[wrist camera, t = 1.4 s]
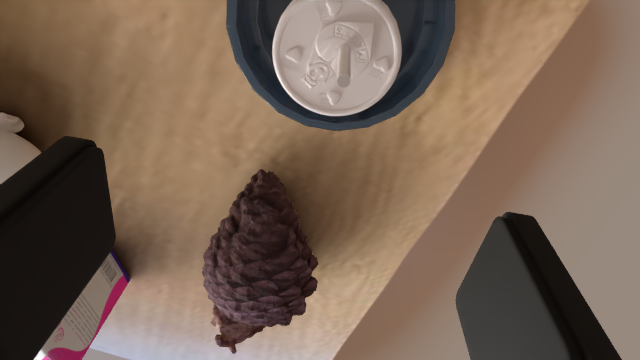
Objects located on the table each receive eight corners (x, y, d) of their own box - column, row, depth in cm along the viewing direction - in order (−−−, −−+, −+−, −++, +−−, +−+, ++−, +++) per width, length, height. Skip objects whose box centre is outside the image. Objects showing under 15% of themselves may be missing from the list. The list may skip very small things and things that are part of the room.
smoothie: (406, 18, 28) (448, 96, 16) (336, 79, 30) (327, 184, 19) (344, -63, 25) (340, -40, 14) (273, 11, 28) (219, 83, 16)
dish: (247, -128, 24) (230, -134, 21) (472, -85, 25) (492, -84, 21) (237, 89, 32) (223, 112, 28) (409, 119, 32) (416, 145, 29)
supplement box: (56, 245, 42) (-29, 343, 33) (109, 240, 41) (37, 339, 32) (83, 284, 45) (12, 383, 36) (132, 280, 44) (73, 381, 35)
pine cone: (198, 151, 35) (235, 197, 27) (301, 154, 40) (358, 193, 32) (184, 323, 40) (211, 403, 32) (276, 306, 45) (319, 371, 37)
